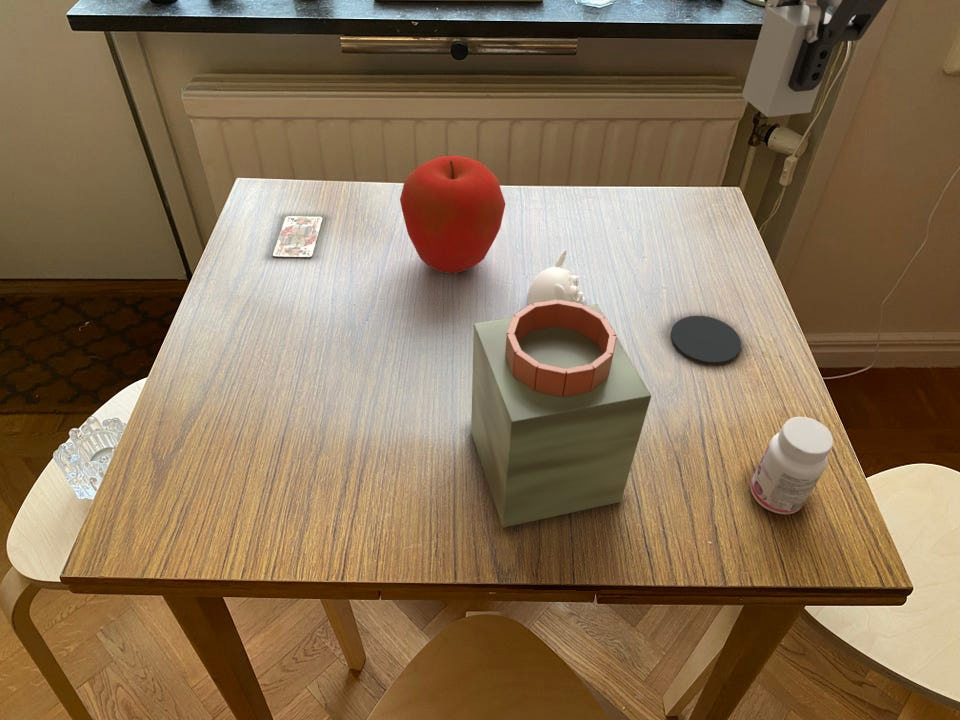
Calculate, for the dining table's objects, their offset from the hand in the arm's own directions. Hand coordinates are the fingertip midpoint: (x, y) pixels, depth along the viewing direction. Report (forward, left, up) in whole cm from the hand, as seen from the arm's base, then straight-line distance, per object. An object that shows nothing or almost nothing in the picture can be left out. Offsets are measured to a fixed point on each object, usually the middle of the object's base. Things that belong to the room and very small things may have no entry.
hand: (784, 75), depth 57 cm
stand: (-11, +21, -30) cm, 39 cm away
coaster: (+1, -2, -30) cm, 30 cm away
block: (0, 0, -2) cm, 2 cm away
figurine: (+9, +13, -30) cm, 34 cm away
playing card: (+31, +40, -30) cm, 59 cm away
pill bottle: (-19, +2, -30) cm, 36 cm away
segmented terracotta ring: (-11, +21, -16) cm, 29 cm away
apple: (+21, +22, -30) cm, 43 cm away
